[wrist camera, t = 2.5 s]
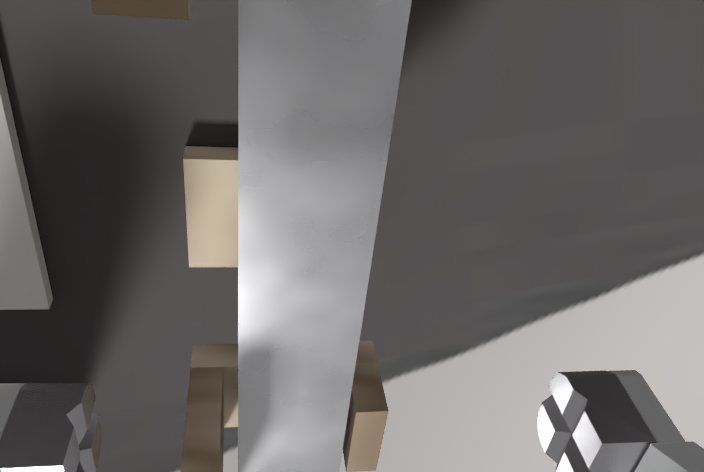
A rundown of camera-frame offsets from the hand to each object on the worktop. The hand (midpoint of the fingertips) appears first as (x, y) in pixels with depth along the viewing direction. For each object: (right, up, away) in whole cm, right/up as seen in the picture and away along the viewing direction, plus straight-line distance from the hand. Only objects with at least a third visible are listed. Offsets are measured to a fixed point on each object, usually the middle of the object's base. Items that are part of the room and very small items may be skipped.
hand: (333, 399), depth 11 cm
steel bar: (-1, +4, +5) cm, 7 cm away
